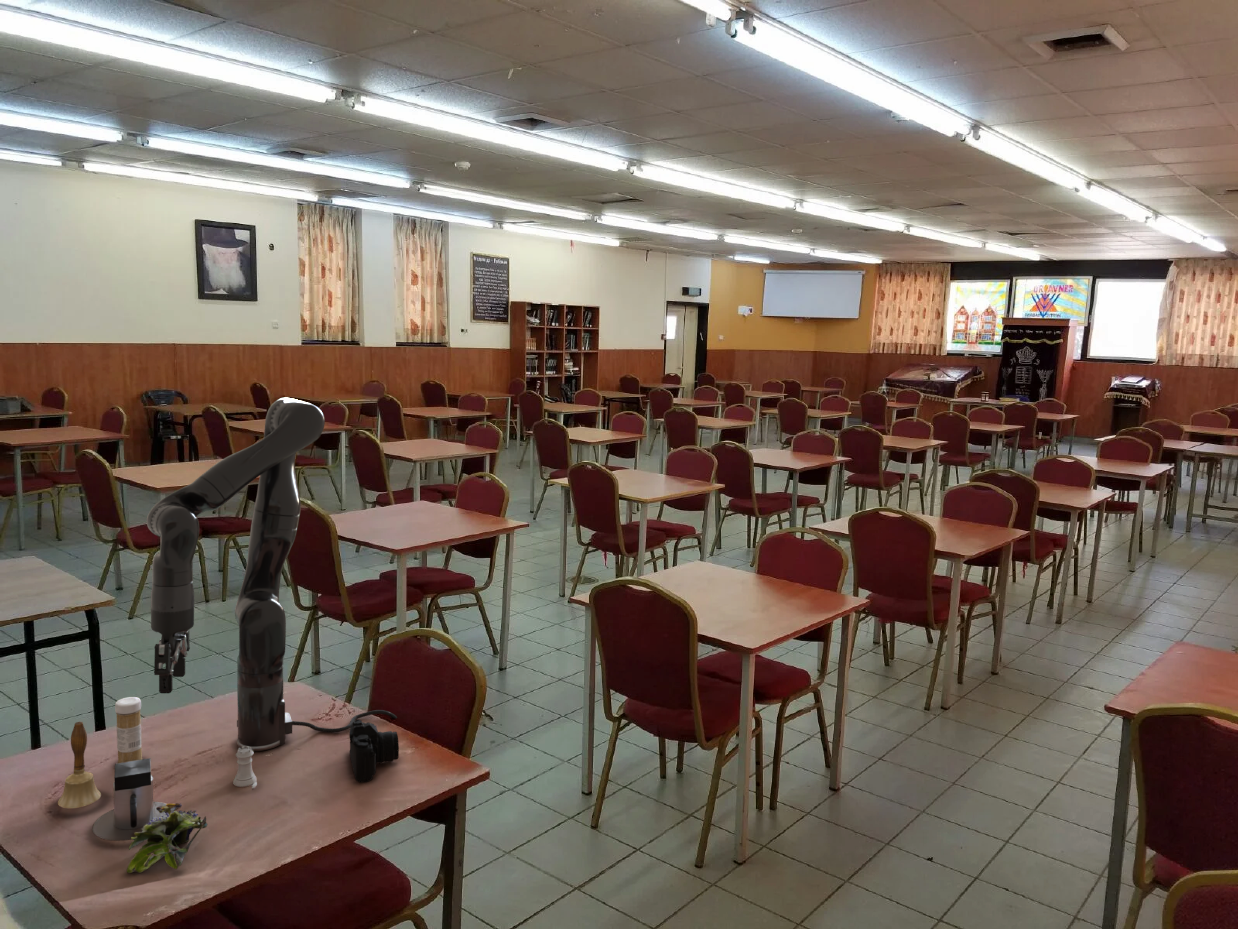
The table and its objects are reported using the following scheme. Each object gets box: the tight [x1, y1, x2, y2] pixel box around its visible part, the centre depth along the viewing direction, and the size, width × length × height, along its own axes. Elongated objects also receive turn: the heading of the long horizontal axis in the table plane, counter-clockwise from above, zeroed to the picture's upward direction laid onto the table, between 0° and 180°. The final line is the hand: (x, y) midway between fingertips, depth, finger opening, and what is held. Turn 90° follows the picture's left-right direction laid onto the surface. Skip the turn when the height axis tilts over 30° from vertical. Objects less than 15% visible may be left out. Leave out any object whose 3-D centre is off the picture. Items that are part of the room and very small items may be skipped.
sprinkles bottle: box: [114, 696, 143, 763], centre depth 179 cm, size 5×5×13 cm
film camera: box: [348, 718, 400, 783], centre depth 185 cm, size 15×10×9 cm, turn 22°
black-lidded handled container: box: [112, 757, 155, 830], centre depth 156 cm, size 9×6×10 cm
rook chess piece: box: [232, 746, 258, 790], centre depth 173 cm, size 4×4×8 cm
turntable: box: [91, 801, 174, 842], centre depth 158 cm, size 13×13×1 cm
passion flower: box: [126, 802, 208, 874], centre depth 148 cm, size 11×11×12 cm
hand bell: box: [57, 721, 102, 809], centre depth 163 cm, size 8×8×16 cm
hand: (172, 684), depth 174 cm, fingers open, 8 cm apart
